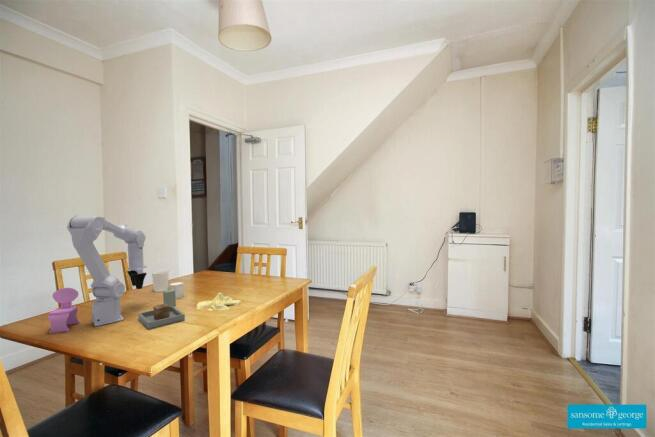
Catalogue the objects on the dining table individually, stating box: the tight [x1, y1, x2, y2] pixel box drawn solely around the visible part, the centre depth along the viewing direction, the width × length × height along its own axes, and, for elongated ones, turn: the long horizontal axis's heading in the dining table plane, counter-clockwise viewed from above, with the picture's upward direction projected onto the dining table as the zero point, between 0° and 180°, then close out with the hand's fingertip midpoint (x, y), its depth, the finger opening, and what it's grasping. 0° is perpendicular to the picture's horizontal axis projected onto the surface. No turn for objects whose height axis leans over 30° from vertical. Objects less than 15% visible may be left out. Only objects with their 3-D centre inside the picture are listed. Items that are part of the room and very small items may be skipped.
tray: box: [137, 306, 185, 330], centre depth 127 cm, size 13×15×2 cm
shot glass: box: [168, 281, 185, 300], centre depth 158 cm, size 7×7×7 cm
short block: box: [153, 303, 170, 320], centre depth 127 cm, size 4×4×5 cm
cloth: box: [196, 292, 242, 312], centre depth 144 cm, size 22×19×6 cm
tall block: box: [162, 289, 177, 307], centre depth 145 cm, size 4×4×7 cm
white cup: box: [151, 270, 169, 293], centre depth 171 cm, size 8×8×10 cm
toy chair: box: [48, 287, 81, 334], centre depth 120 cm, size 8×9×15 cm
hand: (137, 287), depth 143 cm, fingers open, 7 cm apart
